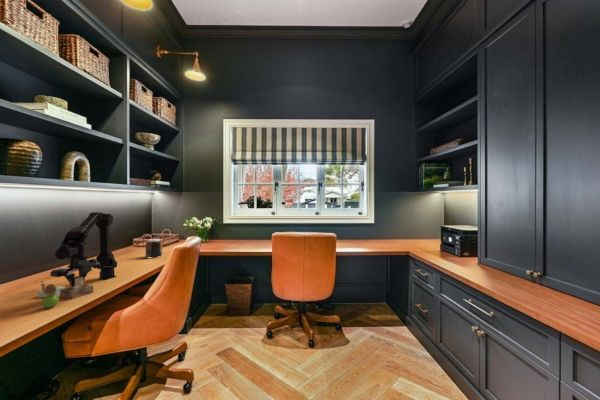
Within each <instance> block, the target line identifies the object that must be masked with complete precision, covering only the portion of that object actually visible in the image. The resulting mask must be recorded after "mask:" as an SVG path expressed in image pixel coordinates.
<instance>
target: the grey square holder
mask: <svg viewBox="0 0 600 400" xmlns="http://www.w3.org/2000/svg"><path fill="white" fill-rule="evenodd" d="M92 293H94V285H93V284H85V283H83V287H82V288H79V289H76V290H72V289H71V286H68V287H66V288H64V289H61V290H60V294H59V298H60V297H61V298H64V299H70V300H74V299H77V298H80V297H82V296H85V295H89V294H92Z"/></svg>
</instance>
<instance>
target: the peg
mask: <svg viewBox="0 0 600 400" xmlns="http://www.w3.org/2000/svg"><path fill="white" fill-rule="evenodd" d="M83 284H84V282H83V277H82V276H79V275H77V276H76V275H75V276H74V287H72V286H71V285H70V287H71V289H72V290H76V289H79V288H82V287H83Z"/></svg>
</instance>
